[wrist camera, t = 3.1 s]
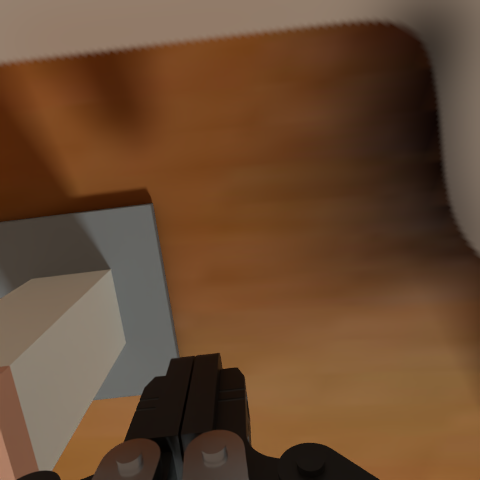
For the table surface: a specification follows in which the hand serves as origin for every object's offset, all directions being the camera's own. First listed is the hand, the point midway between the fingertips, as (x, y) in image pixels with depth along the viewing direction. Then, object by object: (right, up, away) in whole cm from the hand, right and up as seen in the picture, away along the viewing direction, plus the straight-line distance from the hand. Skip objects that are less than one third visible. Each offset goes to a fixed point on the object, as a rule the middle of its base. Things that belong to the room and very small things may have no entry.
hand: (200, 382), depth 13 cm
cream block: (-7, +1, +8) cm, 11 cm away
